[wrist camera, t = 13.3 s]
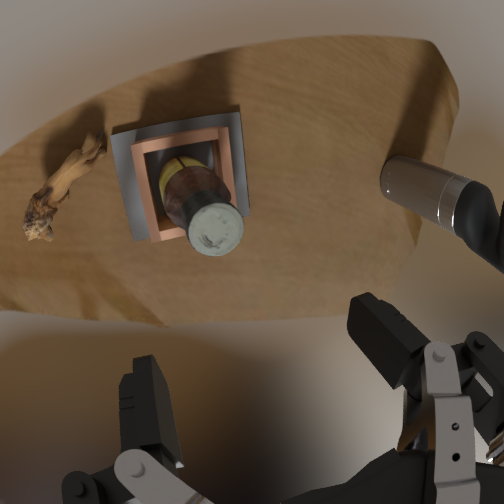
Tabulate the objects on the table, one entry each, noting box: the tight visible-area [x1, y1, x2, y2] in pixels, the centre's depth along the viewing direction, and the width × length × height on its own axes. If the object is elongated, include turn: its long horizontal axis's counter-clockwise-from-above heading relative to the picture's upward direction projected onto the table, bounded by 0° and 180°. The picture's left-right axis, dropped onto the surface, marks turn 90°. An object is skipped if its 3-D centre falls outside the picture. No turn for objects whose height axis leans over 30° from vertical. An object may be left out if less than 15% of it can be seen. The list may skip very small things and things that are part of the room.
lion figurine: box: [23, 130, 106, 241], centre depth 28 cm, size 15×5×9 cm, turn 136°
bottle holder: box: [110, 112, 250, 243], centre depth 34 cm, size 17×15×6 cm
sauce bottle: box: [159, 156, 244, 256], centre depth 28 cm, size 6×6×20 cm
